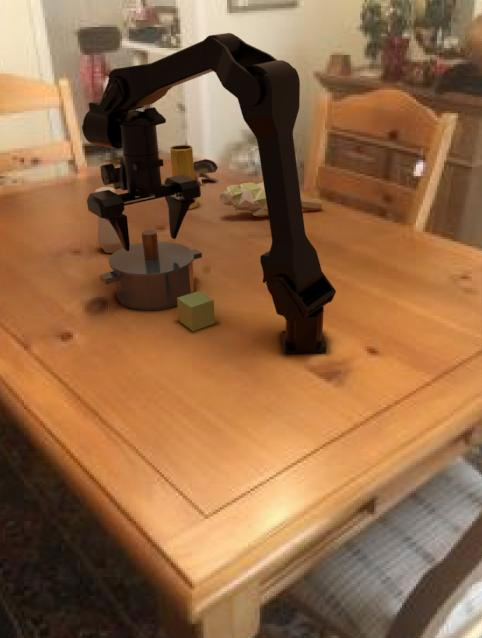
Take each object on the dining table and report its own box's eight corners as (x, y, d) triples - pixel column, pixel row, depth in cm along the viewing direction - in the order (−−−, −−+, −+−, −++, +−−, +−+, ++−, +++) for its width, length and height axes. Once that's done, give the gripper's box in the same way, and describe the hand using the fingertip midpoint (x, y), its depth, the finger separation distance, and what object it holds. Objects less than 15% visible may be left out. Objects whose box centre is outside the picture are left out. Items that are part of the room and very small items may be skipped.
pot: (220, 291, 114) (219, 258, 110) (124, 322, 104) (119, 287, 101) (181, 267, 123) (179, 236, 120) (90, 293, 114) (84, 260, 110)
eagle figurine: (192, 185, 167) (221, 174, 169) (181, 160, 166) (211, 149, 168) (187, 193, 174) (215, 183, 176) (176, 170, 173) (205, 159, 176)
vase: (170, 204, 157) (164, 146, 149) (192, 201, 159) (188, 143, 151) (178, 211, 152) (173, 151, 145) (201, 207, 154) (197, 148, 147)
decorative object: (311, 199, 156) (214, 188, 149) (327, 178, 147) (225, 165, 140) (314, 231, 154) (216, 221, 146) (330, 212, 145) (227, 200, 137)
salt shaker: (93, 251, 131) (83, 190, 124) (110, 242, 135) (102, 182, 128) (115, 256, 129) (107, 194, 122) (132, 247, 133) (124, 186, 126)
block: (215, 323, 103) (213, 299, 101) (192, 331, 101) (190, 307, 99) (201, 313, 106) (199, 290, 104) (178, 321, 104) (176, 297, 102)
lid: (210, 265, 109) (208, 234, 106) (133, 288, 102) (129, 255, 99) (168, 241, 119) (165, 212, 116) (95, 260, 112) (90, 230, 109)
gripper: (166, 135, 110) (173, 220, 119) (66, 152, 101) (82, 243, 110) (199, 146, 103) (205, 237, 111) (95, 165, 93) (109, 262, 102)
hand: (150, 244), depth 109 cm, fingers open, 9 cm apart
